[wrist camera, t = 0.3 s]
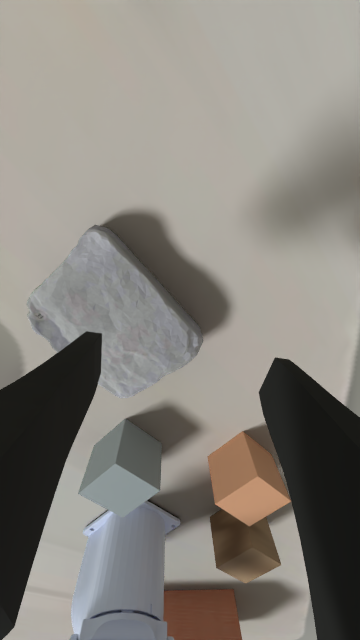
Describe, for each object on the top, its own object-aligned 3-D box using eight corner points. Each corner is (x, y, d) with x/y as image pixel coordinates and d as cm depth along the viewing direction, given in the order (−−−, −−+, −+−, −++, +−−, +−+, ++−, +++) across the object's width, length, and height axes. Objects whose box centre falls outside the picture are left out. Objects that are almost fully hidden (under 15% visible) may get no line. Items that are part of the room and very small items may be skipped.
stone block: (135, 377, 25) (213, 325, 21) (118, 415, 21) (211, 360, 17) (40, 292, 22) (111, 212, 18) (-1, 317, 18) (78, 220, 14)
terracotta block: (236, 476, 29) (249, 526, 24) (207, 455, 27) (214, 504, 23) (271, 453, 28) (291, 501, 23) (242, 430, 26) (257, 476, 22)
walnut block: (235, 532, 33) (245, 583, 28) (209, 516, 31) (216, 567, 27) (265, 514, 32) (281, 564, 27) (239, 496, 30) (252, 547, 26)
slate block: (130, 467, 28) (122, 517, 23) (94, 445, 26) (78, 493, 22) (161, 443, 26) (160, 490, 22) (125, 417, 25) (115, 463, 20)
